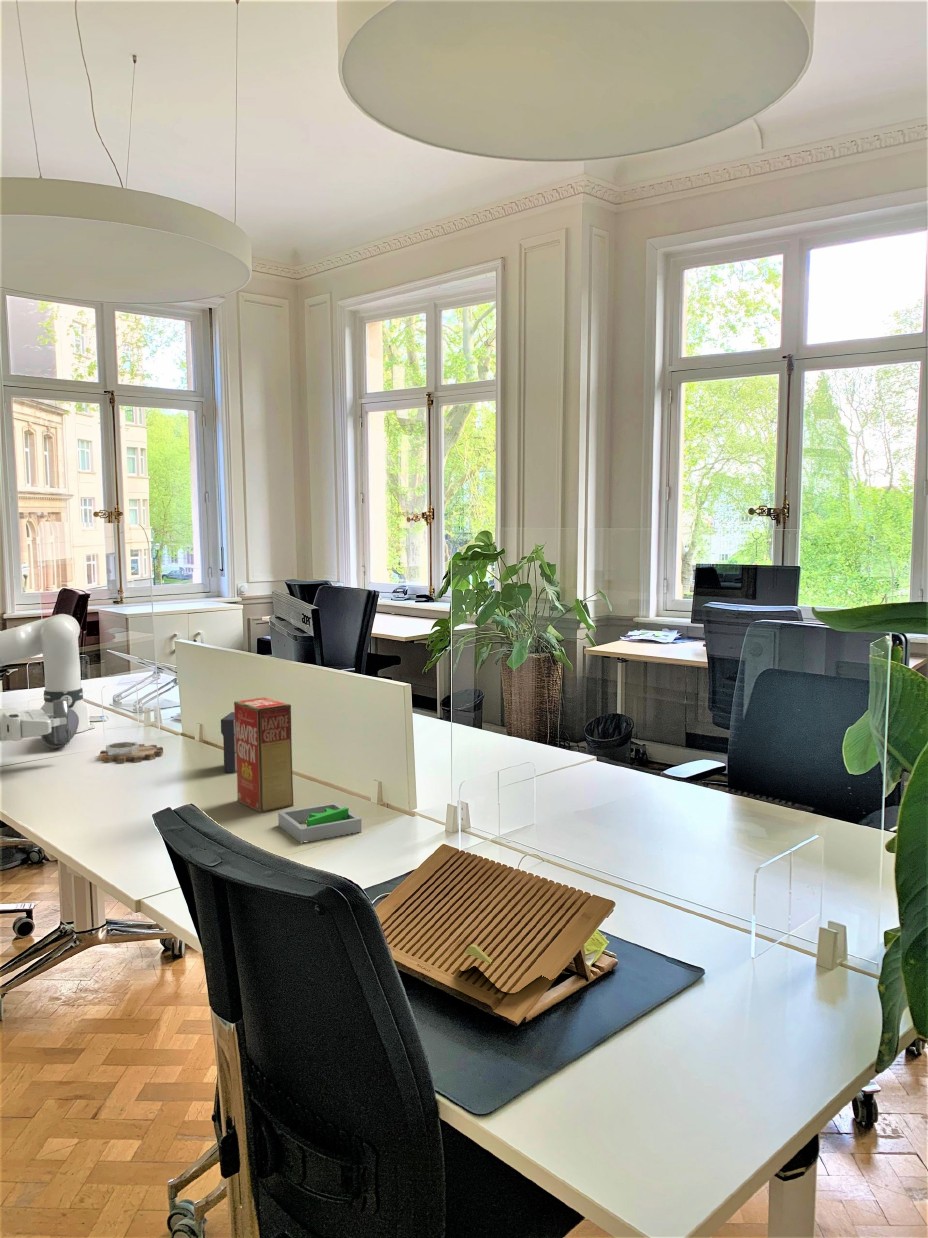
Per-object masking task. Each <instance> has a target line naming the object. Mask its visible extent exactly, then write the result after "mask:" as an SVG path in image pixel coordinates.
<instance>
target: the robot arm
mask: <svg viewBox="0 0 928 1238" xmlns="http://www.w3.org/2000/svg"><path fill="white" fill-rule="evenodd" d="M80 633H81V627H80V624H79V622H78V621H77V619H76V618H75V617H73V616H72V615H70V614H65V613H59V614H55V615H51V616H49V617H45V618H41V619H38V620H35V621H31V622H28V623H24V624H21V625H19V626H16V627H15V626H14V627H11V628H8V629H4V630H0V667H4V666H6V665H10V664H13V663H17V662H22V661H24V660H27V659H28V660H29V659H31V658H33V657H37V656H40V655H42V660H43V670H44V688H45V689H44V690H43V702H44V703H43V705H41V707H40V708H37V709H28V710H20V711H18V708H17V707H12V708H11V707H9V708H1V709H0V742H6V741H12V742H18V741H21V740H22V739H25V738H33V737H39V736H41V735H45V734H48V733H51V727H54V726H57V725H62V724H66V723H67V721H66V718H65V717H60V718H55V719H54V716H53V701H54V700H60V699H66V700H68V707H69V709H72V710H74V711H75V712H76V713H77V715H78V718H79V725H78V728H77V731H76V733H82V732H86V731H88V730H92V729H95V728H96V724H94V723H93V722H92V723H91V722H90V713H89V712H90V711H89V704H88V703H87V702H85V701H84V700H83V699H84V690H83V688H82V679H81V678H82V677H81V675H82V674H81V673H82V672H81V660H80V649H79V648H80V647H79V637H80ZM76 733H75V734H76Z"/></svg>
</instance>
